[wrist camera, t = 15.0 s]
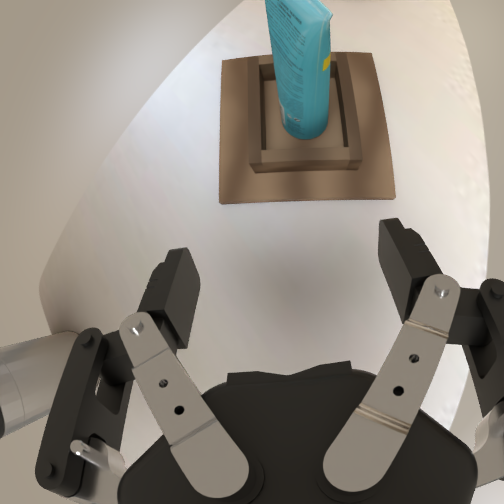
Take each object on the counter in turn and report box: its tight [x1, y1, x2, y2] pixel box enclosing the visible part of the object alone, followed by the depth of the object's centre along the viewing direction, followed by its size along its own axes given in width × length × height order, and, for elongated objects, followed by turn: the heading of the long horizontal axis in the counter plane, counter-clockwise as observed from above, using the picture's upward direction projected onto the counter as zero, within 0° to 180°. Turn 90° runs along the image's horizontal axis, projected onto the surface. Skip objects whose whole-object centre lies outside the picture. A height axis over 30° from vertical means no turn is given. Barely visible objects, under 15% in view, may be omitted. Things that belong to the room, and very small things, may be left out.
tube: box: [265, 0, 333, 139], centre depth 21 cm, size 7×5×19 cm, turn 32°
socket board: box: [219, 52, 396, 204], centre depth 30 cm, size 18×18×5 cm
